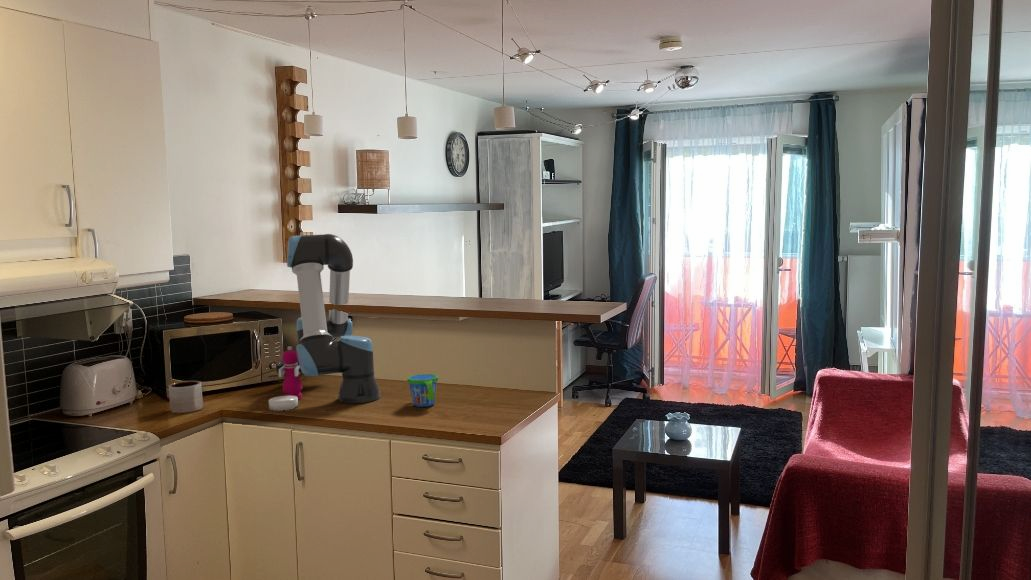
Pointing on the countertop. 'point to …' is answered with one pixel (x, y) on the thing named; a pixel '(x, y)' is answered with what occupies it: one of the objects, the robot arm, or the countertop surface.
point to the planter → (185, 396)
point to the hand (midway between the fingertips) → (287, 373)
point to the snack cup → (423, 389)
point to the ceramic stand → (283, 403)
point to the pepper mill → (291, 374)
